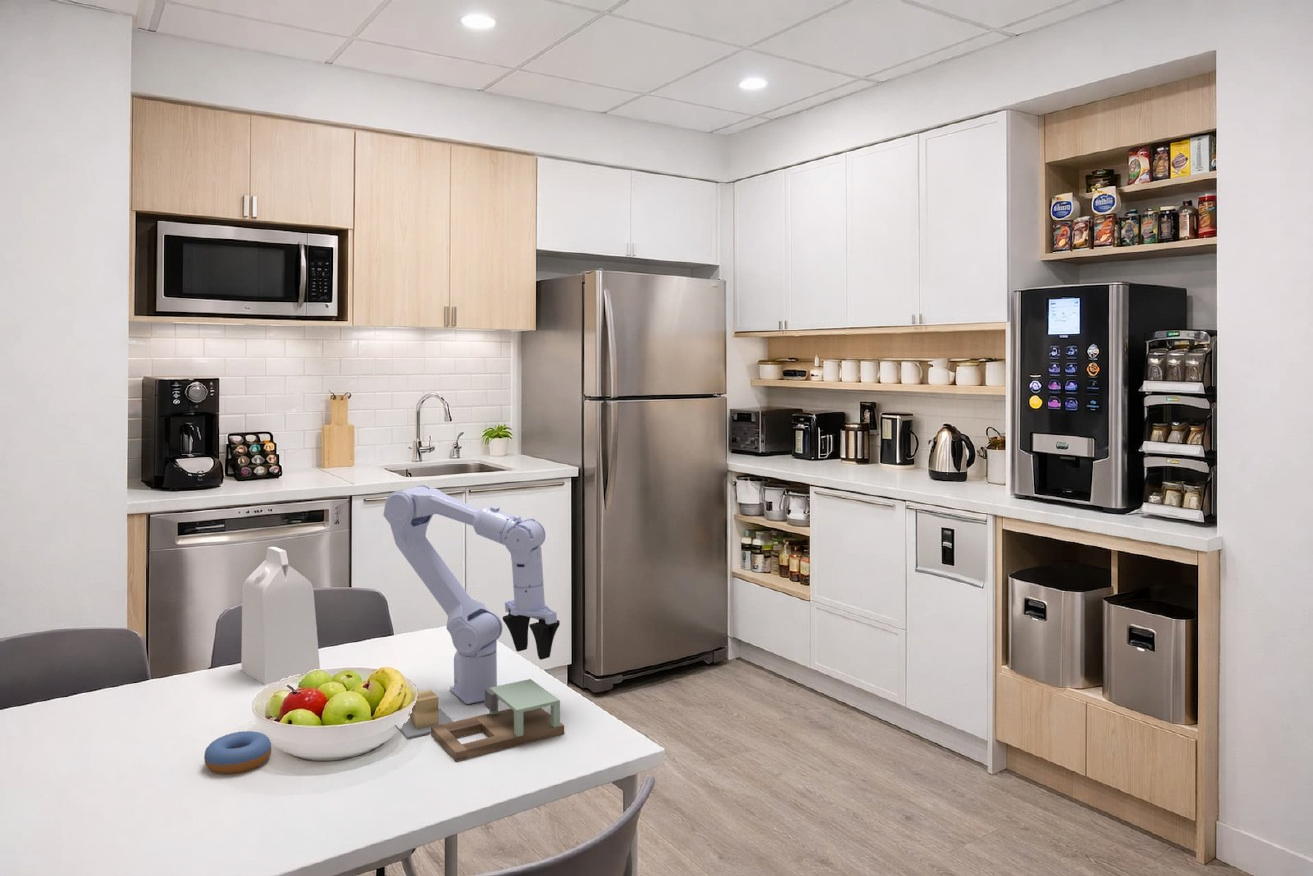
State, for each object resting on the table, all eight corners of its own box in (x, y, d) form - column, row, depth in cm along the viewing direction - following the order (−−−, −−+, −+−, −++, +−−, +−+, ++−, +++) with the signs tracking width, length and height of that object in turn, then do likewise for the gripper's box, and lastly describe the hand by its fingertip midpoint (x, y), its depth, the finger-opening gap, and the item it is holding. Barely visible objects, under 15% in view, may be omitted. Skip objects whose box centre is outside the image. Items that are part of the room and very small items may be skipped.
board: (431, 735, 154) (431, 726, 154) (534, 710, 165) (534, 702, 165) (455, 761, 144) (455, 752, 144) (564, 733, 155) (564, 725, 155)
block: (409, 720, 159) (409, 694, 158) (431, 716, 161) (430, 689, 161) (416, 728, 156) (416, 701, 155) (438, 723, 158) (438, 696, 157)
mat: (392, 721, 160) (392, 719, 160) (440, 710, 165) (440, 708, 165) (407, 739, 152) (407, 737, 152) (457, 727, 157) (457, 725, 157)
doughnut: (241, 742, 150) (239, 718, 149) (286, 756, 146) (284, 731, 145) (191, 773, 141) (188, 747, 140) (236, 789, 137) (234, 762, 136)
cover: (484, 714, 159) (484, 689, 159) (530, 703, 164) (530, 679, 164) (511, 738, 149) (511, 711, 149) (559, 726, 154) (559, 700, 154)
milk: (320, 670, 185) (316, 549, 183) (264, 685, 177) (260, 558, 174) (295, 656, 193) (291, 540, 191) (241, 670, 185) (236, 548, 183)
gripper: (489, 583, 170) (494, 651, 171) (532, 594, 159) (537, 667, 160) (520, 576, 175) (524, 643, 175) (564, 586, 164) (568, 657, 165)
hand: (532, 654), depth 168 cm, fingers open, 7 cm apart
